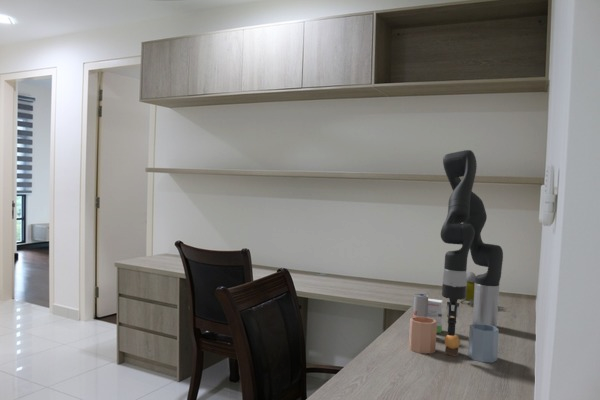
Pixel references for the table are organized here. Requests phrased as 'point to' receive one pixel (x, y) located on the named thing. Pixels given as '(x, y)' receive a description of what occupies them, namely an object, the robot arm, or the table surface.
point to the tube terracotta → (422, 334)
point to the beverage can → (420, 305)
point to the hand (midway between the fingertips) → (451, 331)
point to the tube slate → (483, 342)
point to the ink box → (436, 312)
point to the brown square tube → (451, 351)
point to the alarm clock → (470, 288)
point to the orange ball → (452, 341)
